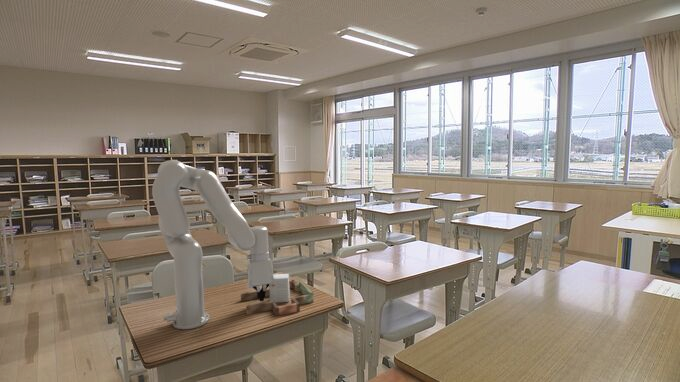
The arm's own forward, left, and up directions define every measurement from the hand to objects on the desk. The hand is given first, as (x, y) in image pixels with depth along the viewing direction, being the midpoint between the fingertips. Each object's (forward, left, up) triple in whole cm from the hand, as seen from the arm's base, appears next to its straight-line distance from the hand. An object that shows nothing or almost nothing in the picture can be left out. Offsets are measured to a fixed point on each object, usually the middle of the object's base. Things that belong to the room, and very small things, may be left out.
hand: (261, 299), depth 153 cm
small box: (+8, 0, -2) cm, 8 cm away
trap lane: (+6, 0, -2) cm, 6 cm away
